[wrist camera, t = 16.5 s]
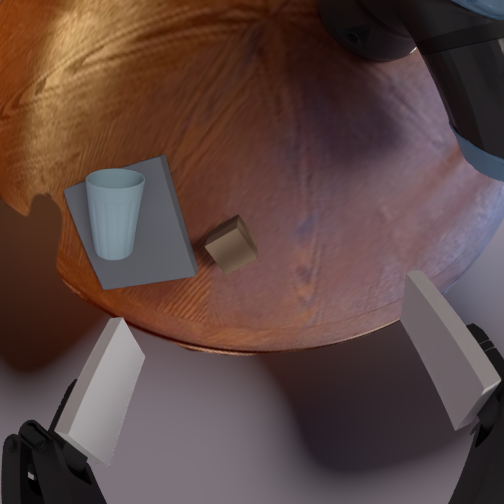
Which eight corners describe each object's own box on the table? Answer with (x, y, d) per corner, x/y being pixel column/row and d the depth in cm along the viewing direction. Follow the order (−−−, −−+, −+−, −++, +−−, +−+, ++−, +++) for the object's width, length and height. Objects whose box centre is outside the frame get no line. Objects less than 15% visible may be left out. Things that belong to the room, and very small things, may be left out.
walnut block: (209, 231, 42) (204, 246, 37) (238, 214, 40) (236, 227, 36) (228, 257, 43) (225, 274, 39) (257, 241, 42) (257, 258, 38)
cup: (94, 233, 38) (94, 166, 33) (142, 237, 41) (148, 170, 35) (81, 262, 32) (78, 186, 27) (137, 267, 34) (142, 190, 29)
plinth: (71, 185, 38) (63, 190, 35) (165, 153, 36) (159, 156, 34) (109, 282, 46) (103, 290, 44) (198, 267, 44) (195, 276, 42)
